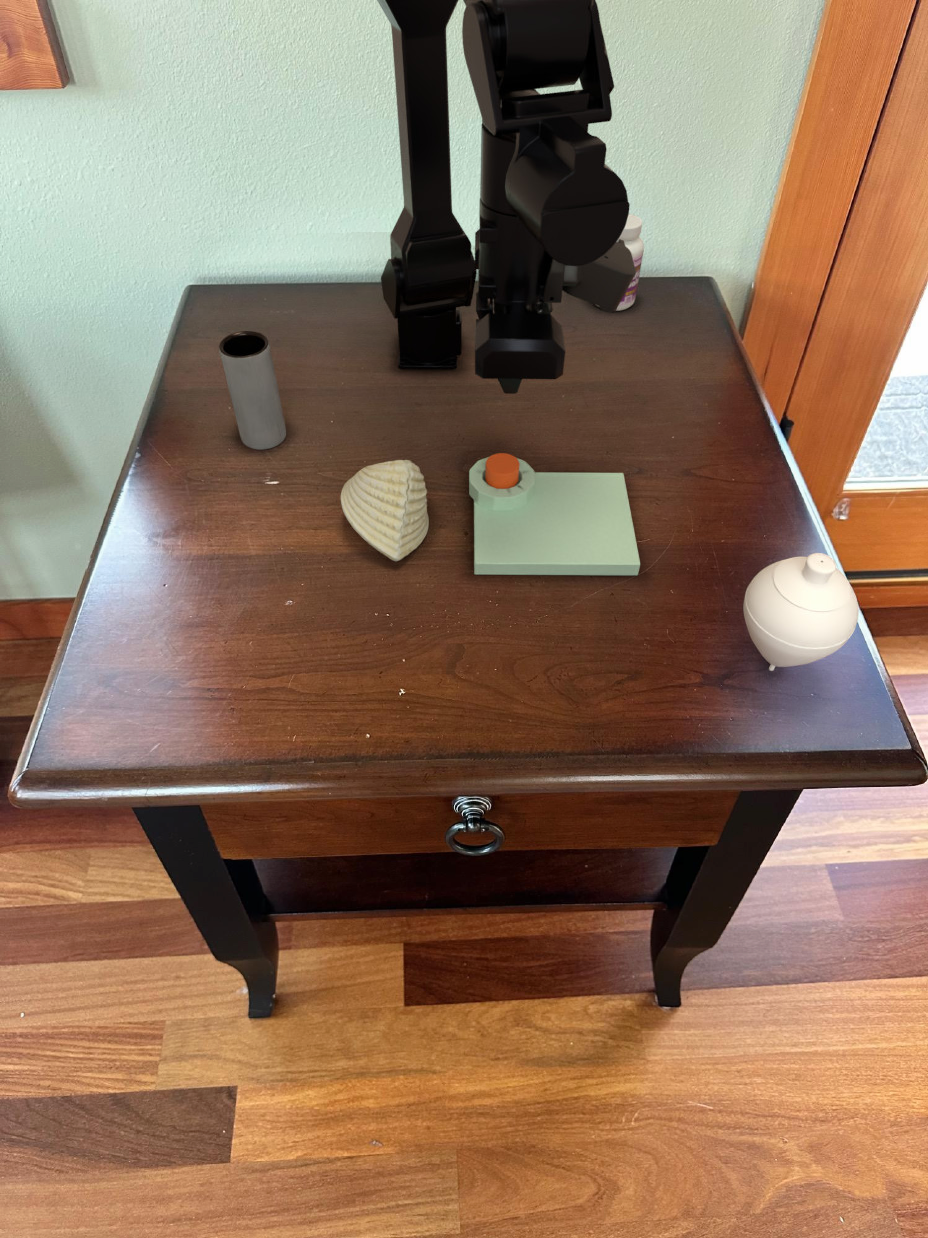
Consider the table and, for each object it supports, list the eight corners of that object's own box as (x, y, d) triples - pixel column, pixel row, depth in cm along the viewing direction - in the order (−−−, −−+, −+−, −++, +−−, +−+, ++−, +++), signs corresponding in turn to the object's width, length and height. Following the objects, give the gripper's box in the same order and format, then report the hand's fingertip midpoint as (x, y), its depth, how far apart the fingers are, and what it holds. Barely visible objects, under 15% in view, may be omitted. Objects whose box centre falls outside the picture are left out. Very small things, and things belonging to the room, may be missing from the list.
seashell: (426, 460, 78) (458, 471, 70) (409, 549, 79) (438, 568, 72) (342, 444, 74) (366, 453, 67) (326, 537, 76) (347, 555, 69)
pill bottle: (633, 314, 99) (647, 233, 92) (588, 309, 100) (598, 228, 92) (636, 292, 103) (649, 212, 95) (593, 287, 103) (603, 207, 96)
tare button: (485, 489, 74) (486, 474, 73) (485, 468, 76) (485, 452, 75) (519, 489, 74) (520, 474, 73) (517, 468, 76) (518, 452, 75)
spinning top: (821, 721, 62) (884, 615, 53) (716, 697, 63) (760, 590, 54) (822, 643, 66) (879, 534, 57) (724, 623, 68) (765, 513, 59)
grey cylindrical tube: (295, 429, 84) (278, 336, 76) (270, 455, 82) (250, 361, 74) (257, 417, 86) (237, 325, 78) (231, 442, 83) (208, 349, 75)
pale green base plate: (469, 574, 71) (469, 549, 69) (468, 480, 79) (469, 454, 77) (638, 575, 71) (643, 550, 69) (620, 480, 79) (625, 455, 77)
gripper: (656, 264, 52) (619, 463, 64) (621, 146, 64) (596, 332, 76) (476, 263, 52) (473, 462, 64) (476, 145, 64) (473, 330, 76)
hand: (510, 391), depth 70 cm, fingers closed
